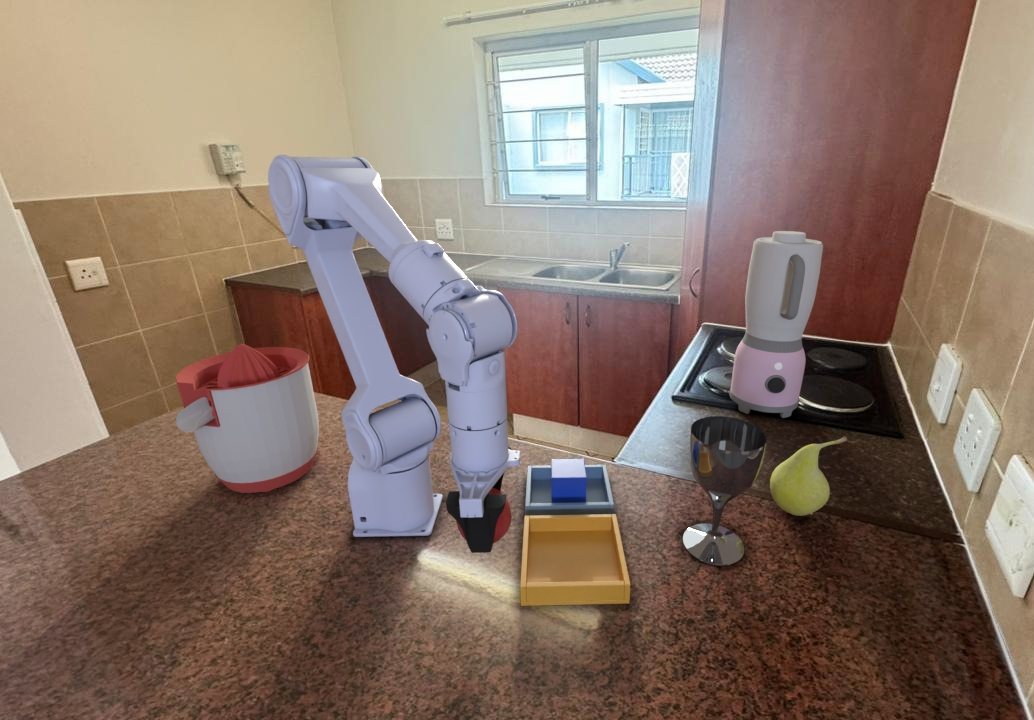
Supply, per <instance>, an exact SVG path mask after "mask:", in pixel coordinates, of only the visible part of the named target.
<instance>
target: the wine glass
mask: <svg viewBox="0 0 1034 720" xmlns="http://www.w3.org/2000/svg"><path fill="white" fill-rule="evenodd" d="M767 441H768V438H767V435H766V433H765V432H764V431H763V430H762V429H761V428H760V427H759V426H757V425H755V424H753V423H751V422H749V421H747V420H743V419H740V418H737V417H730V416H723V415H722V416H721V415H715V416H714V415H713V416H706V417H705V416H704V417H702V418H699V419H697V420H695V421H694V422H693V423H692V424H691V427H690V431H689V443H688V446H689V447H688V454H689V465H690V470H691V472H692V475H693V478H694V480H695V481H696V483H697V484H698V486H699V487H700V488H701V489H703V491H704V493H706V495H707V496H708V497H709V499H710V502H711V505H712V506H711V507H712V522H711V523H697V524H694V525H691V526H690V527H688V528H687V529H686V530H685V531H684V533H682V543H683V547H684V548H685V549H686V551H687V552H688V553H689V554H690V555H691V556H693V557H694V558H695V559H697V560H698V561H701V562H704V563H706V564H709V565H713V566H730V565H734V564H736V563H739V562H740V561H741V560H742V558H743V557H744V555H745V551H746V550H745V546H744V542H743V541H742V540H741V538H740V537H739V536H738V534H736V533H735V532H733V531H732V530H730V529H728V528H726V527H724V526H722V525H720V522H721V518H722V515H723V512H724V508H725V506H726V505H727V504H728V503H729V502H730V501H731V500H733V499H735V498H737V497H738V496H741V495H742V494H744V493H746V492H747V491H748V490H750V489H751V488H752V486H753V485H754V484H755V482H756V480H757V478H758V476H759V475H760V471H761V468H762V466H763V463H764V459H765V455H766V448H767Z"/></svg>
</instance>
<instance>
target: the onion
mask: <svg viewBox="0 0 1034 720" xmlns="http://www.w3.org/2000/svg"><path fill="white" fill-rule="evenodd" d="M489 494H503V493H502V491H501V492H500V491H499V490H497V489H495V488H491V490H490V491H489ZM512 518H513V517H512V508H511V504H510V501H509V499H508V498H507V497H506V504H505V507H504V509H503V512H502V513H501V515H500V516H499V518H498V521H497V523H496V527H495V535H494V542H493V545H494V544H495V543H497V542H499V541H500V540H502V538H503V537H504V536H505V535H506V534H507V532H508V531H509V528H510V526H511V524H512V523H511V522H512ZM455 521H456V520H455ZM455 524H456V526H457V529H458V531H459V533H460V535H461V536H462V538H463V539H464V540H465V541H466V539H465V536H464V534H463V531H462V529H461V527H460V525H459V524H458V522H457V521H456V523H455Z"/></svg>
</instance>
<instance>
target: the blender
mask: <svg viewBox="0 0 1034 720" xmlns="http://www.w3.org/2000/svg"><path fill="white" fill-rule="evenodd" d="M823 250H824V244H823V242H822V241H820V240H817V239H810V238H807V233H806V232H803V231H795V230H794V231H793V230H777V231H773V233H772V236H766V237H765V236H764V237H759V238H756V239H755V240H753V245H752V250H751V255H750V260H749V265H748V272H747V278H746V279H747V280H746V287H745V297H744V298H745V299H744V300H745V301H744V304H745V305H744V306H745V308H744V309H745V333H744V335H743V338H742V339H741V340H740V342H739V344H738V346H737V347H736V350H735V353H734V359H733V367H732V374H731V383H730V387H729V398H730V399H731V400H732V401H733V402H734V403H735V404H737V405H738V411H739V412H740V413H744V414H746V415H749V414H750V413H751V410H752V411H758V412H761V413H768V414H769V413H771V414H779V416H780V417H781V418H782V419H785V418H789V417H791V416H792V414H793V411H794V410H796V409H797V408H798V406H799V401H800V395H801V388H802V385H803V379H804V375H805V368H806V363H807V362H806V361H807V360H806V359H807V358H806V353H805V350H804V346H803V341H802V340H803V335H804V332H805V328H806V326H807V324H808V321H809V319H810V316H811V313H812V310H813V307H814V305H815V304H814V303H815V299H816V294H817V291H818V285H819V279H820V274H821V273H820V272H821V266H822V258H823V252H824V251H823Z"/></svg>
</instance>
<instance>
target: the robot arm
mask: <svg viewBox="0 0 1034 720" xmlns="http://www.w3.org/2000/svg"><path fill="white" fill-rule="evenodd" d="M267 174H268V175H267V180H268V182H267V183H268V190H267V191H268V196H269V199H270V202H271V205H272V207H273V210H274V212H275V215H276V217H277V220H278V222H279V225H280V227H281V230H282V232H283V233H284V235H285V238H286V241H287V243H288V244H289V245H291V246H294V247H295V248H298V249H300V250H302V254H303V255H304V258H305V261H306V263H307V266H308V268H309V270H310V273H311V276H312V278H313V281H314V283H315V286H316V289H317V291H318V293H319V296H320V299H321V302H322V304H323V307H324V308H325V311H326V314H327V316H328V319H329V321H330V323H331V327H332V329H333V332H334V334H335V337H336V339H337V342H338V343H339V347H340V349H341V352H342V355H343V357H344V360H345V363H346V365H347V368H348V370H349V372H350V375H351V377H352V380H353V382H354V385H355V389H354V392H353V393H352V394H351V396H350V398H349V399H348V401H347V402H346V403H345V405H344V407H343V409H342V411H341V413H340V416H341V420H342V423H343V427H344V431H345V440H346V445H347V449H348V451H349V453H350V455H351V456H352V458H353V459H352V461H351V464H350V466H349V469H348V475H347V491H348V499H349V503H350V510H351V515H352V519H353V520H352V521H353V526H354V529H353V530H352V536H353V537H354V538H367V537H369V538H371V537H372V538H373V537H375V538H377V537H421V536H422V537H424V536H425V537H427V536H431V534H432V533H433V530H434V527H435V523H436V520H437V518H438V514H439V511H440V508H441V504H442V501H443V499H444V496H443V494H442V493H434V489H433V478H432V470H431V469H432V468H431V460H430V453H431V452H432V451H433V450H434V448H435V447H434V442H435V441H436V440H438V438H439V437H440V435H441V433H442V419H441V415H440V413H439V411H438V408H437V406H436V405H435V404H434V403H433V402H432V400H431V399H430V397H429V395H428V394H427V392H426V390H425V388H424V385H423V383H421V382H419V381H417V380H415V379H413V378H410V377H407V376H404V375H402V374H400V372H399V371H400V370H399V369H398V367H397V364H396V361H395V359H394V357H393V353H392V351H391V348H390V346H389V343H388V340H387V338H386V335H385V333H384V330H383V328H382V325H381V323H380V320H379V317H378V315H377V312H376V310H375V306H374V305H373V302H372V299H371V296H370V294H369V291H368V289H367V286H366V284H365V281H364V279H363V276H362V273H361V271H360V268H359V265H358V263H357V261H356V258H355V255H354V252H353V248H354V244H355V243H356V242H357V241H360V240H361V239H362V238H363V239H365V241H367V243H368V244H370V245H371V246H372V247H373V248H374V249H375V250H376V251H377V252H378V253H379V254H380V255H381V256H382V257H383V258H384V259H385V260H386V261H387V262H389V266H388V279H389V281H390V283H391V284H392V285H393V286H394V287H395V288H396V289H397V291H398V292H399V293H400V295H402V297H404V299H405V300H406V301H407V302H408V304H409V305H410V306H411V307H412V308H413V309H414V310H415V312H416V313H417V314H418V315H419V316H420V317H421V319H422V320H423V321H424V322H425V324H426V325H428V328H426V329H425V330H426V331H425V332H426V337H427V341H428V343H429V346H430V348H431V351H432V353H433V354H434V356H435V358H436V361H437V370H438V373H439V374H440V378H441V380H444V383H445V394H446V395H445V396H446V407H447V419H448V420H447V421H448V430H449V431H448V432H449V433H448V434H449V443H450V445H449V446H450V456H449V466H450V467H449V468H450V470H451V472H452V475H453V478H454V481H455V484H456V487H457V489H458V490H449V491H448V493H447V496H446V499H445V507H446V511H447V513H448V514H449V515H450V516H451V517H452V519H454V520H455V521H457V522H458V524H459V525H460V527H461V529H462V531H463V534H464V536H465V539H466V540H465V539H464V540H465V542H466V544H467V546H468V549H469V551H470V553H471V554H479V553H480V554H485V553H491V552H492V549H493V547H494V544H493V542H494V535H495V527H496V523H497V521H498V518H499V516H500V515H501V513H502V512H503V509H504V507H505V504H506V498H507V496H508V494H506V493H505V494H504V493H502V485H503V484H502V483H503V479H504V476H505V473H506V471H507V469H508V468H510V467H518V466H519V465H520V463H521V451H520V450H518V449H517V450H515V449H512V447H510V446H509V431H508V430H509V428H508V427H509V425H508V400H507V399H508V397H507V373H506V372H507V371H506V351H505V350H506V349H508V348H509V347H511V346H512V345H513V344H514V342H515V340H516V338H517V334H518V320H517V316H516V313H515V311H514V308H513V307H512V305H511V303H510V302H509V301H508V300H507V298H506V296H505V295H504V294H503V293H501V292H500V291H497V290H494V289H486V288H484V287H483V286H482V285H475V284H474V283H473V282H472V281H471V279H470V278H469V277H468V276H467V275H466V273H464V272H463V271H462V270H461V268H460V267H458V266H457V265H456V263H454V261H453V260H452V259H451V258H450V257H449V256H448V254H446V253H445V249H444V248H443V247H442V246H441V245H440V243H438V242H434V241H433V240H430V239H429V240H428V239H419V240H418V239H417V238H416V236H415V235H414V234H413V233H412V231H410V229H409V228H408V227H407V225H406V224H405V223H404V222H403V220H402V218H400V216H399V214H398V213H397V212H396V211H395V209H394V207H392V206H391V204H390V203H389V202H388V200H387V199H386V198H385V196H384V195H383V188H382V182H381V177H380V173H379V172H377V170H376V169H374V168H373V166H372V165H371V163H370V162H369V161H368V160H367V158H365V157H362V156H351V157H330V156H329V157H327V156H325V157H324V156H289V155H288V154H277V155H275V156H274V158H273V159H272V161H271V163H270V165H269V167H268V172H267ZM397 400H398V402H397V403H394V404H391V405H389V406H386V407H384V408H381V409H379V410H377V411H374V410H375V409H377V408H378V407H381V406H383V405H386V404H388V403H391V402H394V401H397ZM372 411H374V412H372ZM491 488H495V489H497V490H499V491H500V492H501V493H502V494H489V491H490V490H491Z"/></svg>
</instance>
